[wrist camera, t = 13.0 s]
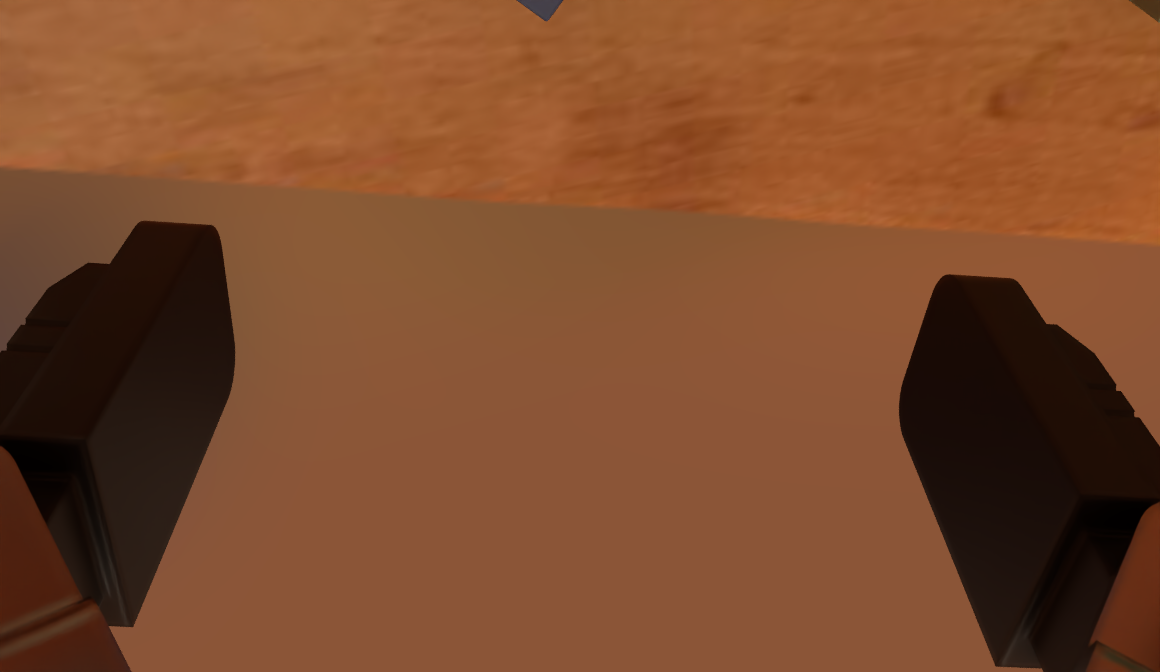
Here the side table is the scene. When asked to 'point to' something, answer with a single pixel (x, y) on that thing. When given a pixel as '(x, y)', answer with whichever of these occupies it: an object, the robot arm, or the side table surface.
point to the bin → (1149, 7)
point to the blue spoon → (542, 7)
